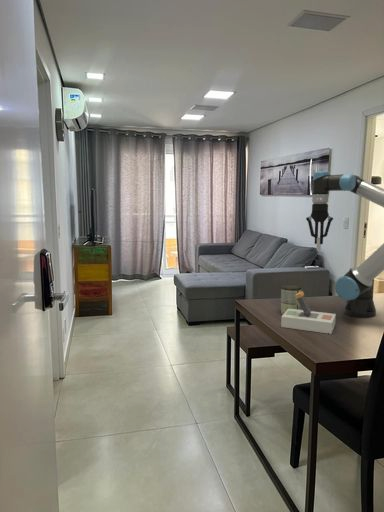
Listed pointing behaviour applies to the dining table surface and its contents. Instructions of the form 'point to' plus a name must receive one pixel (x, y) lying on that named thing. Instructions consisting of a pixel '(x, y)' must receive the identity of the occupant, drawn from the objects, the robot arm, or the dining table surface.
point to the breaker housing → (308, 321)
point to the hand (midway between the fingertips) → (318, 250)
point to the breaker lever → (303, 303)
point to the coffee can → (289, 297)
